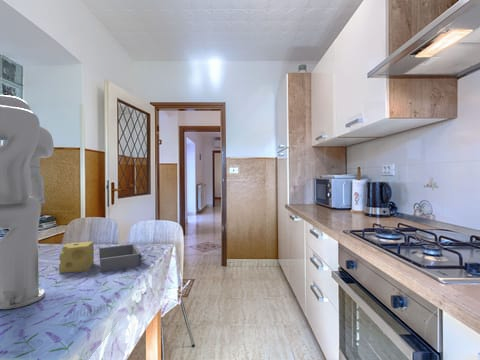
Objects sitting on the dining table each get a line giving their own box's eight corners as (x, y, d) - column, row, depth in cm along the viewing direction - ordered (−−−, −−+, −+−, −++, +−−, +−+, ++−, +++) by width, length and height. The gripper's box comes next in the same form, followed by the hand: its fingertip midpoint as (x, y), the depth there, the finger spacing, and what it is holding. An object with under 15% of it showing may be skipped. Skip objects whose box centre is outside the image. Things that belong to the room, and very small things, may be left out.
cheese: (58, 274, 105) (58, 248, 105) (68, 265, 116) (67, 242, 116) (88, 271, 108) (88, 246, 108) (95, 263, 118) (94, 240, 118)
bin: (141, 265, 114) (140, 253, 114) (100, 272, 107) (100, 259, 107) (134, 254, 132) (134, 243, 132) (99, 258, 125) (99, 247, 125)
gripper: (-1, 171, 97) (0, 222, 98) (49, 171, 104) (50, 219, 105) (5, 172, 104) (6, 219, 104) (52, 172, 111) (53, 216, 111)
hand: (28, 219), depth 104 cm, fingers closed
